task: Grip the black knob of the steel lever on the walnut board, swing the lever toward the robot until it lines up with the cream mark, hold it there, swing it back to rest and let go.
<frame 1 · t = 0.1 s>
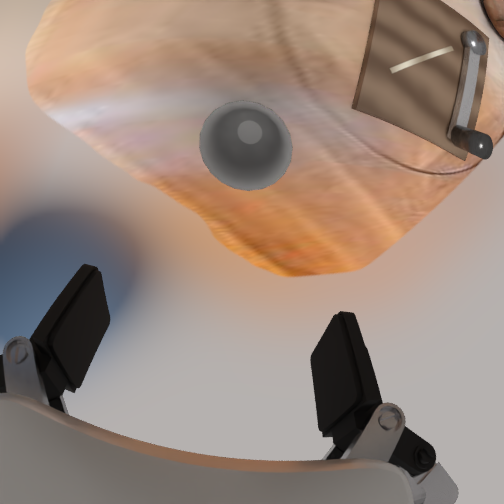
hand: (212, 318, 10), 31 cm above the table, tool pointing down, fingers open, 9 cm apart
lever board: (430, 63, 26), on the table
lever: (480, 87, 22), point 6 cm above the table, hinge at 0.0°
chalice: (252, 124, 35), on the table
ceramic jug: (498, 17, 15), on the table
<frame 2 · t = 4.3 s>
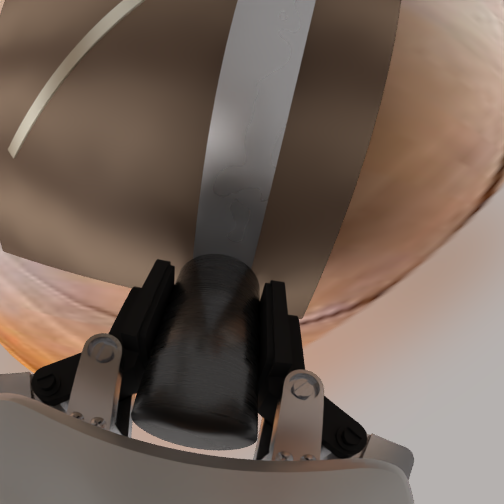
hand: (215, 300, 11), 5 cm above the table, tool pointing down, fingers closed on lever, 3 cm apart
lever board: (141, 45, 9), on the table
lever: (263, 42, 5), point 7 cm above the table, hinge at 0.0°, touching gripper
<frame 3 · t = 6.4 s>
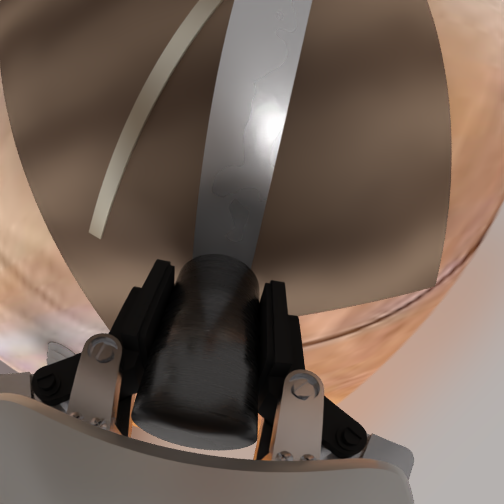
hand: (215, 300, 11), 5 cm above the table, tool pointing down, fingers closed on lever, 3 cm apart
lever board: (205, 81, 10), on the table
lever: (259, 42, 5), point 6 cm above the table, hinge at 23.4°, touching gripper
chalice: (66, 355, 24), on the table
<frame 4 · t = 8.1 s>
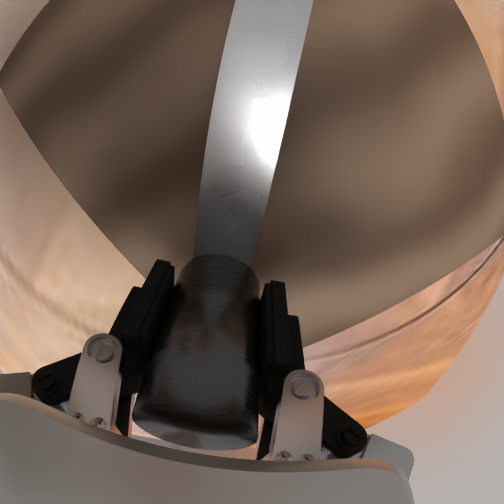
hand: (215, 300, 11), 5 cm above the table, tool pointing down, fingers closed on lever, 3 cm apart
lever board: (285, 97, 11), on the table
lever: (261, 42, 5), point 6 cm above the table, hinge at 44.7°, touching gripper
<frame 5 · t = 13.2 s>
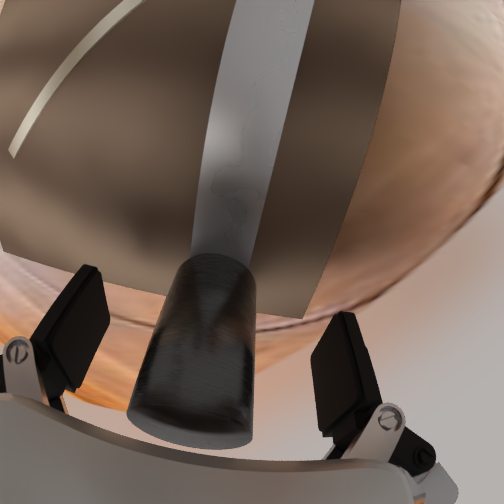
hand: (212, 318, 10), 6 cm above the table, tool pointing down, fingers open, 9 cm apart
lever board: (142, 46, 9), on the table
lever: (260, 42, 5), point 6 cm above the table, hinge at 0.5°
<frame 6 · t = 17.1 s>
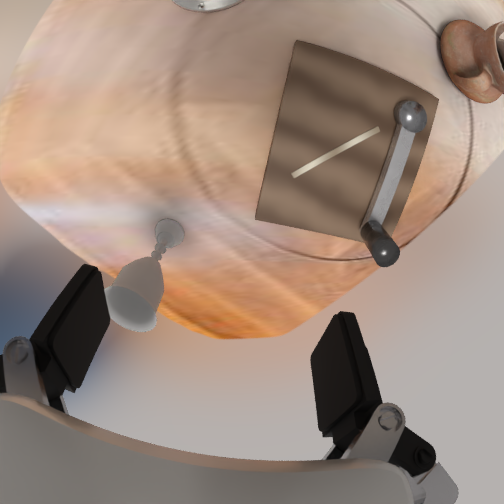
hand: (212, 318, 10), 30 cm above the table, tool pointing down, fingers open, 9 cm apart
lever board: (349, 149, 35), on the table
lever: (402, 180, 30), point 6 cm above the table, hinge at 0.5°
chalice: (169, 232, 43), on the table
ceramic jug: (462, 62, 24), on the table
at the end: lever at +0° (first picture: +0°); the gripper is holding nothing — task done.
